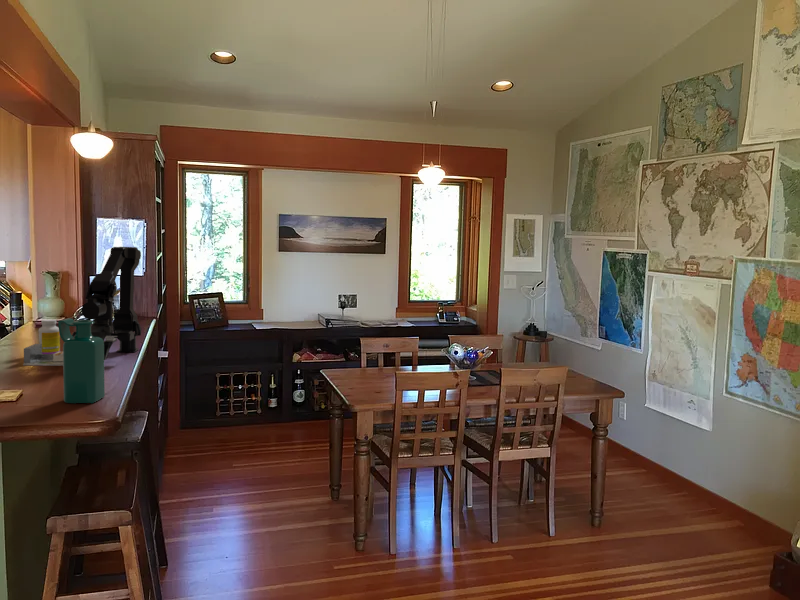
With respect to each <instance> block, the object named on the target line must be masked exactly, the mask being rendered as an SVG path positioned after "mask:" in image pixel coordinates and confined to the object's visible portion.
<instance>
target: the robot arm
mask: <svg viewBox="0 0 800 600" xmlns="http://www.w3.org/2000/svg"><path fill="white" fill-rule="evenodd" d="M141 257H142V252H141V250H140V249H138V247H136V246H113V247H111V248H110V254H109V256H108V258H107V260H106V262H105V265H104V267H103V269H102V271H101V272H100V273H98V274H96V275H95V276H94V277H93V279H92V280H91V282H90V283H89V285H88V290H87V292H86V293H87V294H86V297H85V300H87V302H85V303H84V304H83V305H82V307H81V310H80V311H81V315H82V316H83V317H84V318H86V320H92V321H94V322H95V323H94V324H91V334H92V336H96V337H100V338H102V339H103V341H104V361H106V359H107V357H108V354H109V352H110V350H111V347H112V345H113V343H115V342H117V341H118V340H119V348H118V349H117V350H116V353H136V352H137V351H138V350H140V348H139V347H137V337H138V336H142V327H141V325H140V323H139V320H138V315H137V313H136V311H135V310H134V291H135V290H134V287H135V270H136V269H137V268H138V266H139V265H140V259H141ZM119 272H120V274H119ZM118 274H119V275H120V279H119V280H120V281H119V282H120V283H119V309H118V310H117V311H116V312H114V314H113V302H114V297H115V295H116V291H117V289H118V287H117V283H116V279H117V276H118ZM71 335H72V336H73V337H75V335H76V330H75V331H73V332H72V333H71Z"/></svg>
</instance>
